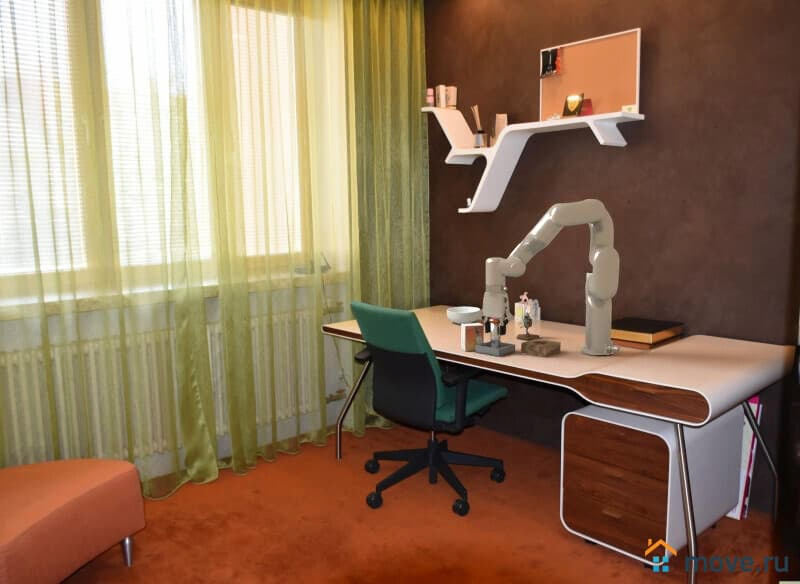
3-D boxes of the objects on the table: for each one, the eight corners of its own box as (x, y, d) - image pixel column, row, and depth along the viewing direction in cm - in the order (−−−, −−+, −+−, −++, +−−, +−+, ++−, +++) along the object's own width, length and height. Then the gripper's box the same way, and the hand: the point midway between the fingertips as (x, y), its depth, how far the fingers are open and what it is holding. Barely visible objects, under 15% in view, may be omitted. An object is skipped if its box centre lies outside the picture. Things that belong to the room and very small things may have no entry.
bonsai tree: (518, 335, 291) (518, 308, 290) (539, 336, 289) (540, 309, 287) (515, 340, 281) (516, 312, 279) (537, 341, 278) (538, 313, 277)
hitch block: (560, 352, 258) (560, 342, 257) (545, 357, 250) (545, 346, 249) (536, 348, 265) (536, 338, 265) (521, 352, 257) (521, 343, 257)
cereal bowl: (444, 320, 330) (444, 307, 329) (477, 319, 331) (477, 306, 330) (449, 327, 314) (449, 312, 313) (483, 326, 315) (483, 311, 314)
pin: (504, 350, 259) (504, 318, 258) (496, 352, 256) (496, 320, 254) (494, 348, 263) (494, 317, 261) (486, 350, 259) (486, 319, 258)
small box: (464, 351, 261) (464, 326, 260) (460, 348, 267) (460, 323, 265) (484, 350, 263) (483, 324, 262) (479, 347, 268) (479, 322, 267)
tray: (515, 351, 260) (515, 344, 259) (498, 356, 252) (498, 349, 251) (492, 347, 267) (492, 340, 267) (475, 352, 259) (475, 345, 259)
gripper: (519, 289, 253) (519, 335, 255) (483, 286, 265) (483, 329, 267) (508, 292, 247) (508, 338, 250) (472, 288, 259) (472, 332, 262)
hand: (495, 333), depth 258 cm, fingers open, 6 cm apart
